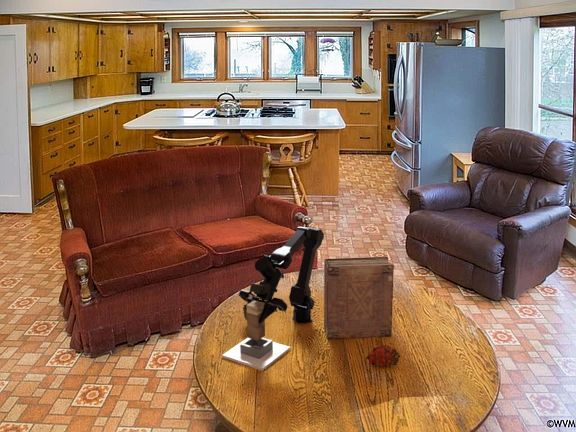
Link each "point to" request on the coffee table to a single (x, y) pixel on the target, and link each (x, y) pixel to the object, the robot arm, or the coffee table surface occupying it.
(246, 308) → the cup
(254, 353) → the plate
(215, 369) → the coffee table surface
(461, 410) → the coffee table surface
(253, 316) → the walnut post
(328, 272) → the book
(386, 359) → the dragon fruit
